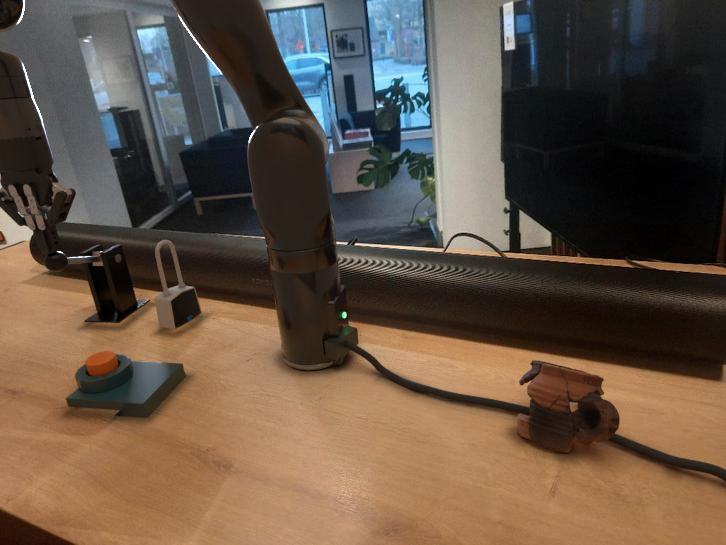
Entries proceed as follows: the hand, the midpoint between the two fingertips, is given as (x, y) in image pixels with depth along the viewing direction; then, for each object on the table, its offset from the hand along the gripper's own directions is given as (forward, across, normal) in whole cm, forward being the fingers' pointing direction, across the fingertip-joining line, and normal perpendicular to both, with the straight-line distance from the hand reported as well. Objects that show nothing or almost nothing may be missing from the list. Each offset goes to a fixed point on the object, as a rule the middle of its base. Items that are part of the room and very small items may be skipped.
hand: (51, 251), depth 75 cm
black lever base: (+16, 0, +10) cm, 18 cm away
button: (+12, +15, -12) cm, 23 cm away
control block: (+16, +18, -12) cm, 27 cm away
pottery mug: (+16, +72, -13) cm, 75 cm away
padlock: (+16, +14, +7) cm, 22 cm away
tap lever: (+5, 0, +4) cm, 6 cm away
